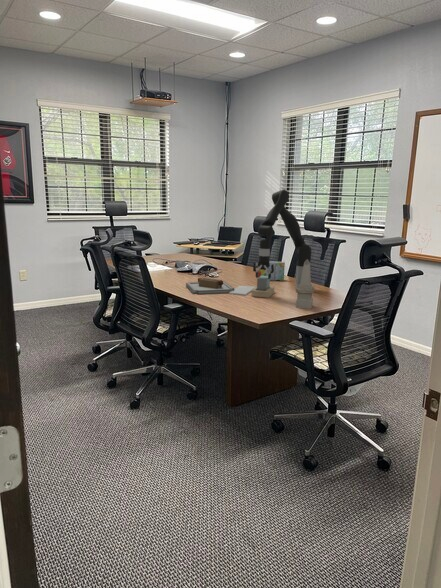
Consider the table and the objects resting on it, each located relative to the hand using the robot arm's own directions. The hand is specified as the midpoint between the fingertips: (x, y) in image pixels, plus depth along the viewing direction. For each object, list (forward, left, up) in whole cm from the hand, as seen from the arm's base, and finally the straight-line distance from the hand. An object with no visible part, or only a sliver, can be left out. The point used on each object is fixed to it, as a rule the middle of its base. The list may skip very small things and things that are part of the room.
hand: (263, 278), depth 302 cm
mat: (+15, -4, -11) cm, 19 cm away
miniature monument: (-33, +22, -12) cm, 41 cm away
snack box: (+6, -54, -12) cm, 55 cm away
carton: (-1, 0, -11) cm, 11 cm away
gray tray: (+39, 0, -12) cm, 41 cm away
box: (-1, 0, -11) cm, 11 cm away
